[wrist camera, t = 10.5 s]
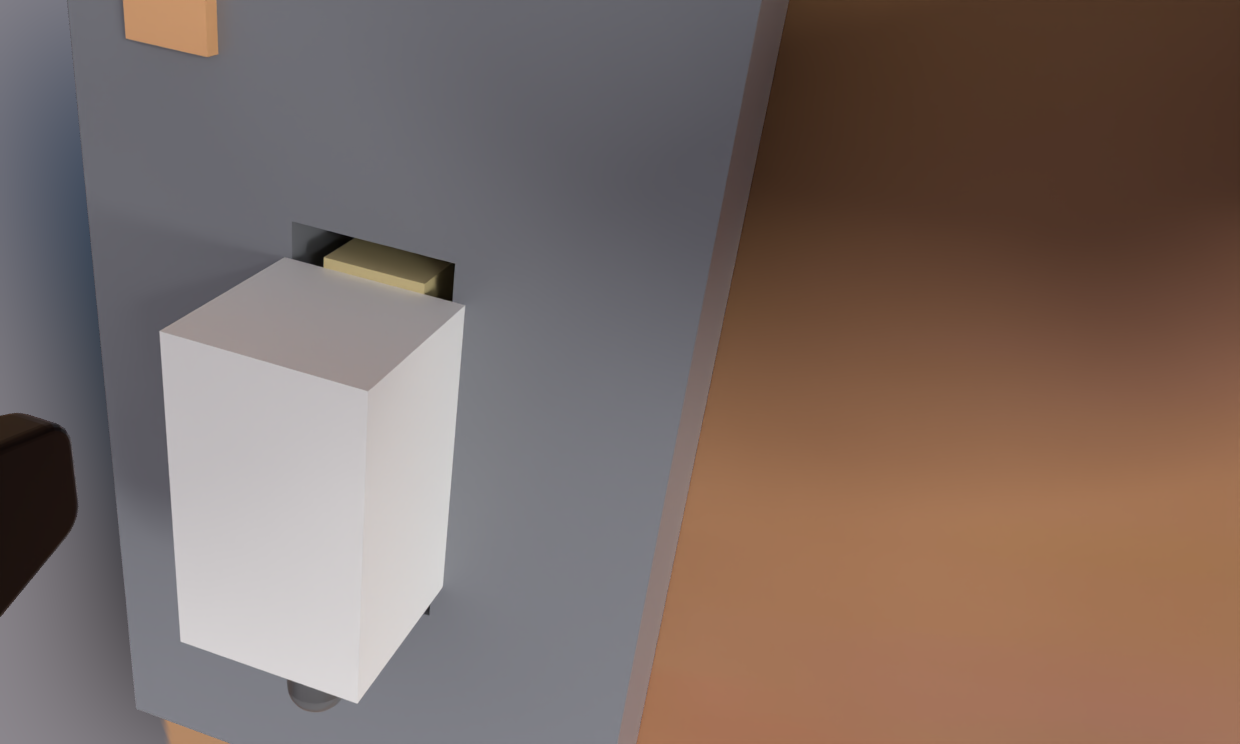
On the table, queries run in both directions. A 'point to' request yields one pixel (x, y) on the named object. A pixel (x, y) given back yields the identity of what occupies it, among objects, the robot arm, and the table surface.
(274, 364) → the plug
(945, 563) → the table surface
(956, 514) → the table surface
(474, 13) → the socket
